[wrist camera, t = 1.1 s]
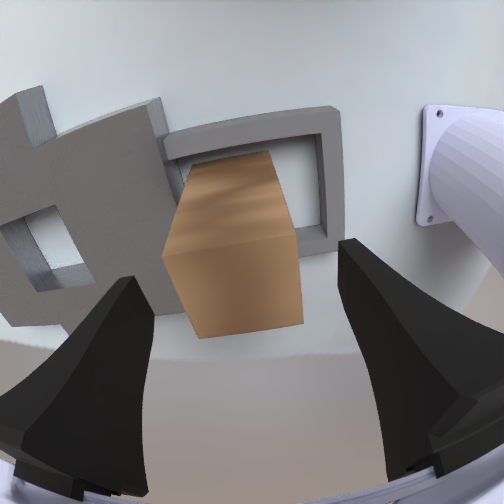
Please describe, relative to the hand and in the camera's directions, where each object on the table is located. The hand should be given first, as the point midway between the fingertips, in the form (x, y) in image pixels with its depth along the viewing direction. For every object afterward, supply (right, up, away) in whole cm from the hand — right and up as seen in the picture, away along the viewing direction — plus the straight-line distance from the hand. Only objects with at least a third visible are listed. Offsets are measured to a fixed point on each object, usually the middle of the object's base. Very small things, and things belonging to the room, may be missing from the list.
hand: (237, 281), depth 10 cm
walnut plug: (0, +4, +6) cm, 7 cm away
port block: (-12, +2, +7) cm, 14 cm away
